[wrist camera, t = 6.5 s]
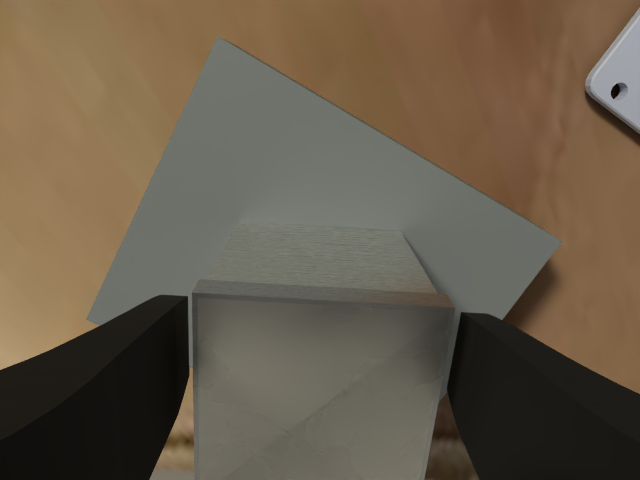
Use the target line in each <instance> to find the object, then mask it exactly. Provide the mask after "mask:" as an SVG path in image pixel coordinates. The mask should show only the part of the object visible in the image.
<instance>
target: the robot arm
mask: <svg viewBox="0 0 640 480" xmlns="http://www.w3.org/2000/svg"><path fill="white" fill-rule="evenodd" d="M616 84H618V85H619V87H620V92H619V94H618V96H617V97H616V98H615V99H613V98H612V97H611V90H612V88H613V86H614V85H616ZM585 88H586V92H587V93H588V94H589V96H590V97H592V98H593V99H594V100H595V101H597V102H598V103H599V104H601V105H602V106H603V107H605V108H606V109H607V110H609V111H610V112H611V113H612V114H614V115H615V116H616V117H618V118H619V119H620V120H622V121H623V122H624V123H625V124H627V125H628V126H629V127H631V128H632V129H633V130H635V131H636V132H637V133H639V134H640V8H639V9H638V11H637V12H636V13H635V15H634V16H633V17H632V18H631V20H630V21H629V22H628V24H627V25H626V26H625V28H624V29H623V30H622V31H621V33H620V34H619V35H618V37H617V38H616V39H615V41H614V42H613V43H612V44H611V46H610V47H609V48H608V50H607V51H606V52H605V54H604V55H603V56H602V57H601V59H600V60H599V61H598V63H597V64H596V65H595V67H594V68H593V69H592V70H591V72H590V73H589V75H588V77H587V78H586V83H585ZM188 378H189V322H188V296H177V295H158V296H155V297H153V298H151V299H149V300H147V301H145V302H143V303H141V304H139V305H137V306H136V307H134V308H132V309H130V310H128V311H126V312H125V313H123V314H121V315H119V316H117V317H115V318H113V319H112V320H110V321H108V322H106V323H104V324H102V325H100V326H99V327H97V328H95V329H93V330H91V331H89V332H87V333H84V334H82V335H80V336H78V337H76V338H74V339H72V340H70V341H68V342H66V343H64V344H62V345H60V346H58V347H56V348H54V349H51V350H49V351H47V352H44V353H42V354H40V355H37V356H35V357H33V358H30V359H28V360H25V361H23V362H20V363H17V364H15V365H12V366H10V367H7V368H4V369H2V370H0V480H149V479H150V477H151V474H152V472H153V470H154V468H155V465H156V463H157V461H158V459H159V457H160V454H161V452H162V450H163V448H164V445H165V443H166V441H167V439H168V436H169V434H170V432H171V429H172V427H173V425H174V423H175V420H176V418H177V416H178V413H179V409H180V406H181V403H182V400H183V396H184V393H185V389H186V386H187V382H188ZM447 392H448V395H449V399H450V403H451V407H452V411H453V414H454V418H455V421H456V425H457V428H458V430H459V433H460V435H461V438H462V440H463V442H464V445H465V447H466V449H467V452H468V454H469V456H470V459H471V461H472V463H473V466H474V468H475V470H476V473H477V475H478V477H479V479H480V480H640V394H638V393H636V392H634V391H632V390H630V389H628V388H626V387H623V386H621V385H619V384H617V383H615V382H613V381H611V380H609V379H607V378H605V377H604V376H602V375H600V374H598V373H596V372H594V371H592V370H590V369H588V368H586V367H584V366H582V365H581V364H579V363H577V362H575V361H573V360H572V359H570V358H568V357H566V356H564V355H563V354H561V353H559V352H557V351H556V350H554V349H552V348H550V347H549V346H547V345H545V344H543V343H542V342H540V341H538V340H537V339H535V338H533V337H531V336H530V335H528V334H526V333H524V332H523V331H521V330H519V329H518V328H516V327H514V326H512V325H510V324H509V323H507V322H505V321H503V320H501V319H499V318H497V317H495V316H492V315H490V314H486V313H469V312H461V315H460V320H459V326H458V331H457V336H456V342H455V347H454V352H453V357H452V363H451V368H450V373H449V379H448V384H447Z"/></svg>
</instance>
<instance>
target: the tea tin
mask: <svg viewBox="0 0 640 480" xmlns="http://www.w3.org/2000/svg"><path fill="white" fill-rule="evenodd" d="M454 313H455V306H454V305H453V303H452V302H451V300H450V299H449V297H448V295H447V294H440V293H437V291H436V289H435V288H434V286H433V284H432V283H431V281H430V279H429V278H428V276H427V274H426V273H425V271H424V269H423V268H422V266H421V264H420V263H419V261H418V259H417V258H416V256H415V254H414V253H413V251H412V249H411V248H410V246H409V244H408V243H407V241H406V239H405V238H404V236H403V234H402V233H401V231H392V230H376V229H361V228H345V227H330V226H314V225H299V224H283V223H268V222H252V221H238V222H237V224H236V226H235V228H234V230H233V232H232V234H231V235H230V237H229V239H228V241H227V243H226V245H225V247H224V249H223V251H222V252H221V254H220V256H219V258H218V260H217V262H216V264H215V266H214V268H213V269H212V271H211V273H210V275H209V277H208V279H207V280H204V279H199V281H198V283H197V284H196V286H195V288H194V290H193V291H192V337H193V403H194V470H195V480H424V479H425V473H426V468H427V462H428V457H429V451H430V446H431V440H432V435H433V429H434V424H435V418H436V413H437V407H438V402H439V396H440V390H441V385H442V379H443V374H444V368H445V363H446V357H447V352H448V346H449V341H450V335H451V330H452V324H453V319H454Z"/></svg>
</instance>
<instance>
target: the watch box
mask: <svg viewBox="0 0 640 480" xmlns="http://www.w3.org/2000/svg"><path fill="white" fill-rule="evenodd" d="M238 221H252V222H268V223H283V224H299V225H314V226H330V227H345V228H361V229H376V230H392V231H401V233H402V234H403V236H404V238H405V239H406V241H407V243H408V244H409V246H410V248H411V249H412V251H413V253H414V254H415V256H416V258H417V259H418V261H419V263H420V264H421V266H422V268H423V269H424V271H425V273H426V274H427V276H428V278H429V279H430V281H431V283H432V284H433V286H434V288H435V289H436V291H437V293H440V294H447V295H448V297H449V299H450V300H451V302H452V303H453V305H454V306H455V313H454V319H453V324H452V330H451V335H450V341H449V346H448V352H447V357H446V363H445V368H444V374H443V379H442V385H441V390H440V396H439V402H440V401H441V399H442V398H443V397H444V395H445V394H446V393H447V384H448V379H449V373H450V368H451V363H452V357H453V352H454V347H455V342H456V336H457V331H458V326H459V320H460V315H461V312H469V313H486V314H490V315H492V316H495V317H497V318H499V319H501V320H503V318H504V317H505V316H506V314H507V313H508V312H509V310H510V309H511V308H512V306H513V305H514V304H515V303H516V301H517V300H518V299H519V297H520V296H521V295H522V293H523V292H524V291H525V289H526V288H527V287H528V286H529V284H530V283H531V282H532V280H533V279H534V278H535V276H536V275H537V274H538V272H539V271H540V270H541V269H542V267H543V266H544V265H545V263H546V262H547V261H548V259H549V258H550V257H551V255H552V254H553V253H554V252H555V250H556V249H557V248H558V246H559V245H560V244H561V242H562V241H561V240H559V239H558V238H556V237H555V236H553V235H551V234H550V233H548V232H547V231H545V230H543V229H542V228H540V227H539V226H537V225H536V224H534V223H532V222H531V221H529V220H528V219H526V218H524V217H523V216H521V215H520V214H518V213H516V212H515V211H513V210H511V209H510V208H508V207H506V206H505V205H503V204H501V203H500V202H498V201H496V200H495V199H493V198H491V197H490V196H488V195H486V194H485V193H483V192H481V191H479V190H478V189H476V188H474V187H473V186H471V185H469V184H468V183H466V182H464V181H463V180H461V179H459V178H458V177H456V176H454V175H453V174H451V173H449V172H448V171H446V170H444V169H443V168H441V167H439V166H438V165H436V164H434V163H432V162H431V161H429V160H427V159H426V158H424V157H422V156H421V155H419V154H417V153H416V152H414V151H412V150H411V149H409V148H407V147H406V146H404V145H402V144H401V143H399V142H397V141H396V140H394V139H392V138H391V137H389V136H387V135H385V134H384V133H382V132H380V131H379V130H377V129H375V128H374V127H372V126H370V125H369V124H367V123H365V122H364V121H362V120H360V119H359V118H357V117H355V116H354V115H352V114H350V113H349V112H347V111H345V110H344V109H342V108H340V107H338V106H337V105H335V104H333V103H332V102H330V101H328V100H327V99H325V98H323V97H322V96H320V95H318V94H317V93H315V92H313V91H312V90H310V89H308V88H307V87H305V86H303V85H302V84H300V83H298V82H297V81H295V80H293V79H292V78H290V77H288V76H286V75H285V74H283V73H281V72H280V71H278V70H276V69H275V68H273V67H271V66H270V65H268V64H266V63H265V62H263V61H261V60H260V59H258V58H256V57H255V56H253V55H251V54H250V53H248V52H246V51H245V50H243V49H241V48H239V47H238V46H236V45H234V44H232V43H230V42H228V41H226V40H224V39H222V38H220V37H217V39H216V41H215V43H214V45H213V48H212V50H211V52H210V54H209V56H208V58H207V61H206V63H205V65H204V67H203V69H202V71H201V73H200V76H199V78H198V80H197V82H196V84H195V86H194V89H193V91H192V93H191V95H190V97H189V99H188V101H187V104H186V106H185V108H184V110H183V112H182V114H181V117H180V119H179V121H178V123H177V125H176V127H175V129H174V132H173V134H172V136H171V138H170V140H169V142H168V145H167V147H166V149H165V151H164V153H163V155H162V157H161V160H160V162H159V164H158V166H157V168H156V170H155V172H154V175H153V177H152V179H151V181H150V183H149V185H148V188H147V190H146V192H145V194H144V196H143V198H142V200H141V203H140V205H139V207H138V209H137V211H136V213H135V216H134V218H133V220H132V222H131V224H130V226H129V228H128V231H127V233H126V235H125V237H124V239H123V241H122V244H121V246H120V248H119V250H118V252H117V254H116V256H115V259H114V261H113V263H112V265H111V267H110V269H109V272H108V274H107V276H106V278H105V280H104V282H103V284H102V287H101V289H100V291H99V293H98V295H97V297H96V300H95V302H94V304H93V306H92V308H91V310H90V312H89V315H88V317H87V319H86V320H89V321H91V322H93V323H95V324H97V325H102V324H104V323H106V322H108V321H110V320H112V319H113V318H115V317H117V316H119V315H121V314H123V313H125V312H126V311H128V310H130V309H132V308H134V307H136V306H137V305H139V304H141V303H143V302H145V301H147V300H149V299H151V298H153V297H155V296H158V295H177V296H188V322H189V366H190V367H192V368H193V337H192V291H193V290H194V288H195V286H196V284H197V283H198V281H199V279H204V280H207V279H208V277H209V275H210V273H211V271H212V269H213V268H214V266H215V264H216V262H217V260H218V258H219V256H220V254H221V252H222V251H223V249H224V247H225V245H226V243H227V241H228V239H229V237H230V235H231V234H232V232H233V230H234V228H235V226H236V224H237V222H238ZM439 402H438V403H439Z"/></svg>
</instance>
